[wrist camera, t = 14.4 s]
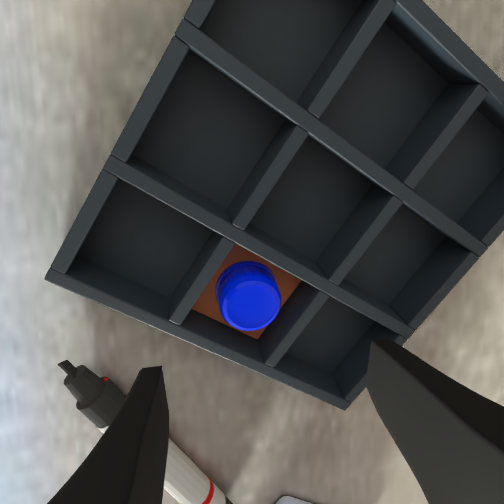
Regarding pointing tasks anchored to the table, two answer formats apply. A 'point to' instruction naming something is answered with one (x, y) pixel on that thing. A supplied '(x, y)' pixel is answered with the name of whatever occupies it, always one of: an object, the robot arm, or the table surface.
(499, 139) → the grid
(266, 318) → the bottle cap
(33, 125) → the table surface
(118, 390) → the marker
